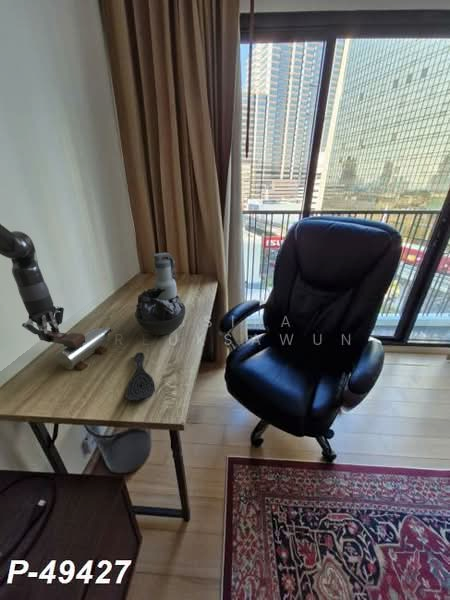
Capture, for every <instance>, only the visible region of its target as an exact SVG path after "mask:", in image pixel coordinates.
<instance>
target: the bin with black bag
mask: <svg viewBox="0 0 450 600" xmlns="http://www.w3.org/2000/svg"><path fill="white" fill-rule="evenodd" d="M164 291H166V289H161V288H157V289H155V287H152V288H148V289H147V290H143V291H142V292H141V293H140V294H139V295H138V296H137V304H136V306H135V307H136V309H135V312H134V313H135V314H134V317H135V320H136V322H137V324H138V326H140V328H141V329H143V330H144V331H145V332H147V333H148V334H150V335H155V336H163V335H168V334H170V333H173V332H175V331H176V330H178V328H179V327H180V326H181V325H182V323H183V322H184V319H185V316H186V306H185V304H184V303H183V302H182V301H181V298H180V297H179V295H178V294H177V296H176V297H174V298H170V299H164V300H159V299H157V298H158V297H159V295H160V294H161V293H162V292H164Z"/></svg>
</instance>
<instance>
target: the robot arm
mask: <svg viewBox="0 0 450 600" xmlns="http://www.w3.org/2000/svg"><path fill="white" fill-rule="evenodd" d="M0 255H1V256H2V257H5V258H6V259H10V260H11V264H12V267H11V273H12V274H11V275H12V277H13V279H14V281H15V284H16V286H17V291H18V294H19V296H20V299H21V300H22V304H23V306H24V308H25V310H26V312H27V313H28V320H27V321H26V322H23V323H22V324H21V326H22V327H23V329H26V330H27V331H30V332H31V333H32V334H33V335H37V336H38V335H42V337H43V339H44V342H47V343H52V342H51V341H52V340H51V337H50V334H49V333H48V331H47V330H48V325H49V327H50V331H55V332H60V330H59V326H60V325H61V324H62V323H63V319H64V312H65V309H64V307H61V306H55V305H54V300H53V298H52V295H51V292H50V290H49V287H48V285H47V283H46V281H45V278H44V276H43V274H42V272H41V269H40V265H39V261H38V256H37V251H36V247H35V244H34V242H33V240H32V238H31V237H30V235H28V234H27V233H25V232H23V231H20V230H19V231H18V230H13V231H10V230H9V229H8V228H7V227H5V226H4V225H2V224H1V223H0ZM35 324H36V327H37V328H36V327H35Z"/></svg>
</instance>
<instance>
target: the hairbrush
mask: <svg viewBox="0 0 450 600" xmlns="http://www.w3.org/2000/svg"><path fill="white" fill-rule="evenodd" d="M133 359H134V361H135V366H136V367H135V371H134V373H133V374H132V376H131V379H130V381H129V382H128V383H127V388H126V399H127V400H128V401H129V402H130V403H138V402H143V401H145V400H147V399H149V398H151V397H152V396H153V395H154V393H155V391H156V386H155V381H154V379H153V377H152V376H151V375H150V373H149V372H147V371H146V369H144V360H145V354H144V352H141V351H140V352H137V353H136V354H134V357H133Z"/></svg>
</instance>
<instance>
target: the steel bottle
mask: <svg viewBox="0 0 450 600" xmlns="http://www.w3.org/2000/svg"><path fill="white" fill-rule="evenodd" d="M112 331H113V330H112V328H111V327H110V326H106V327H105V328H102V327H100V328H93V329H92V330H90V331H88V332H87V333H85V334H84V336H85V341H86V342H85V343H83V344H82V345H81V346H79V347H78V348H76V349H75V348H70V347H65V348H63V349H62V350H60V351H58V352H57V353H56V360H57V362H59V364H60V365H61V366H62V367H63V368H64V369H67V370H73V369H75V370H79V371H83V370H85V369H86V368H88V363H87V362H84V361H85V360H86V359H87V358H89V357H90V356H91V355H93V354H94V353H95V354H98V355H101V356H102V355H104V354H105V353H106V352H107V351H108V350H107V347H104V345H106V344H107V341H108V339H109V336H110V334H111V333H112Z"/></svg>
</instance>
